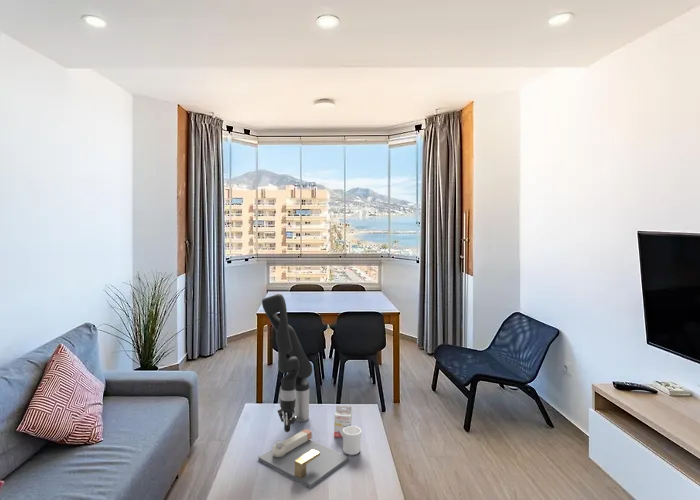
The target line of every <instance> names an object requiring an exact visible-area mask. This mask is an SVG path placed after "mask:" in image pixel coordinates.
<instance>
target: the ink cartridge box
mask: <svg viewBox="0 0 700 500" xmlns="http://www.w3.org/2000/svg"><path fill="white" fill-rule="evenodd" d="M352 409H353V408H352V406H345V405H336V408H335V410H336V411H335V414H334V421H333V422H334V423H333V425H334V429H333V437H334V438H341V439H343V438H342V437H343V429H344V428H345V427H347V426H352V415H353V413H352Z"/></svg>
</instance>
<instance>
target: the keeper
mask: <svg viewBox="0 0 700 500" xmlns="http://www.w3.org/2000/svg"><path fill="white" fill-rule="evenodd" d="M318 456H320V452H318V451H316V450H314V449H312V450H311V451H309V452H308V453H306V454H304V455H303V456H301V457H300V458H298V459H296V460H295V476H297V477H299V478H301V479H302V478H304V477H305V476H306V464H308V463H309V462H311V461H312V460H314V459H315V458H317V457H318Z"/></svg>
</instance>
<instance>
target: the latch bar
mask: <svg viewBox="0 0 700 500" xmlns="http://www.w3.org/2000/svg"><path fill="white" fill-rule="evenodd" d="M312 432H313V431H312V430H309V429H307V428H304V429H303V430H300V431H299V432H298V433H296V434H294V435H292V436H291V437H288V438H286V439H285V440H283V441H282V440H277V441H276V442H275V444H274V445H273V446H272V449H273V456H274V457H283V456H284V455H285V454H286V453H287V452H289V451H291V450H292V449H294V448H296V447H298V446H299V445H301V444H303V443H304V442H306V441H308V440H312V436H313V435H312V434H313V433H312Z"/></svg>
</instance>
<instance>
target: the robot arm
mask: <svg viewBox="0 0 700 500" xmlns="http://www.w3.org/2000/svg"><path fill="white" fill-rule="evenodd" d="M261 305H262V308H263V310H264V313H265V314H266V316H267V318H268V319H269V321H270V324H272V327H273V329H274V331H275V341H276V346H277V351H278V355H277V367H278V370H279V372H280V373H282V374H286V373H287V374H286V375H284V376H282V378H281V381H280V382H281V383H280V385H281V387H280V396H279V397H280V403H279V406H280V409H278V410H277V413H278V416H279V419H280V422H282V423H283V430H284V432H285V433H289V432H290V431H291V426H292V425H293V424H294V423H296V422H298V423H302V422H306V421H308V420H309V417H310V383H309V381H308V378H309V377H311V375H312V373H313V365H312V363H311V361H310V360H309V358H308V356H307V355H306V354H305V351H304V349H303V347H302V344H301V342H300V340H299V338H298V336H297V333H296V331H295V329H294V327H292V326H291V325H290V324H289V321H288V313H287V311H288V310H287V304H286V300H285V298H284V296H283V294H282V293H277V294H273V295H270V296H267V297H264V298H263V299H262V301H261ZM278 313H279V316H278V315H277V314H278ZM287 355H289V357H287Z"/></svg>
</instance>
